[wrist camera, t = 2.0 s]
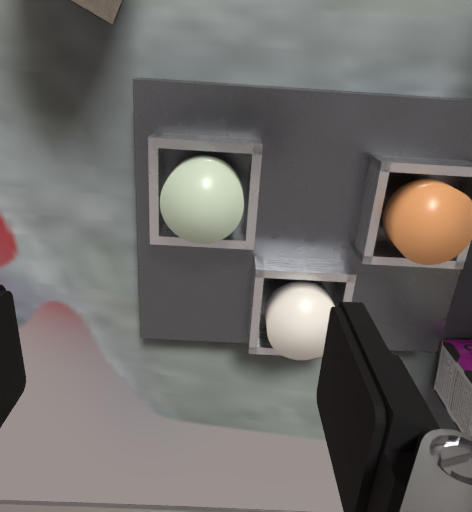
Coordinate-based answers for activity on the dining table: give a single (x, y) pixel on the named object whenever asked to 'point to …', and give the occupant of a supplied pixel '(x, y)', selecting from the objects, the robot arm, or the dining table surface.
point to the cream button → (298, 319)
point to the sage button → (202, 199)
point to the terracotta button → (428, 221)
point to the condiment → (101, 8)
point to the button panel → (294, 206)
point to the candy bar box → (456, 381)
